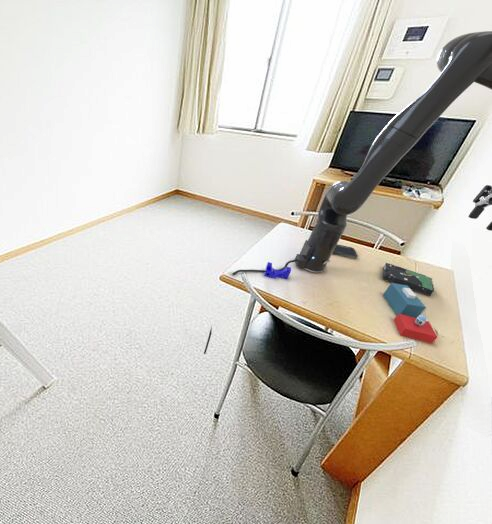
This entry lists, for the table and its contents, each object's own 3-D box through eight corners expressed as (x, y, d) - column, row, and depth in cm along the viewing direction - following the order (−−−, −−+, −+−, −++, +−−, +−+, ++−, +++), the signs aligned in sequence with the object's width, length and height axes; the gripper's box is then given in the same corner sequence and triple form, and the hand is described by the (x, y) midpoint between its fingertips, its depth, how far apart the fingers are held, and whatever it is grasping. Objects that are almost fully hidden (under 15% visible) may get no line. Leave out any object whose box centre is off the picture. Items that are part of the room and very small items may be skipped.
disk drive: (381, 280, 113) (430, 296, 107) (385, 274, 112) (435, 290, 105) (382, 268, 120) (428, 282, 114) (385, 262, 119) (432, 276, 112)
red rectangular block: (400, 334, 90) (412, 320, 87) (393, 319, 96) (404, 305, 92) (431, 343, 88) (445, 328, 85) (423, 327, 93) (435, 313, 90)
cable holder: (264, 275, 110) (267, 267, 108) (264, 270, 113) (267, 262, 111) (287, 281, 108) (291, 272, 106) (286, 276, 111) (290, 267, 109)
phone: (316, 239, 133) (353, 247, 130) (315, 242, 134) (352, 249, 130) (318, 248, 127) (358, 257, 123) (317, 250, 128) (356, 259, 124)
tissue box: (398, 316, 97) (410, 301, 93) (382, 294, 106) (393, 280, 102) (415, 319, 96) (428, 304, 92) (398, 297, 105) (409, 282, 101)
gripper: (490, 164, 93) (454, 212, 102) (527, 179, 81) (482, 232, 90) (518, 168, 91) (479, 216, 101) (559, 184, 80) (511, 236, 89)
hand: (480, 223), depth 96 cm, fingers open, 8 cm apart
